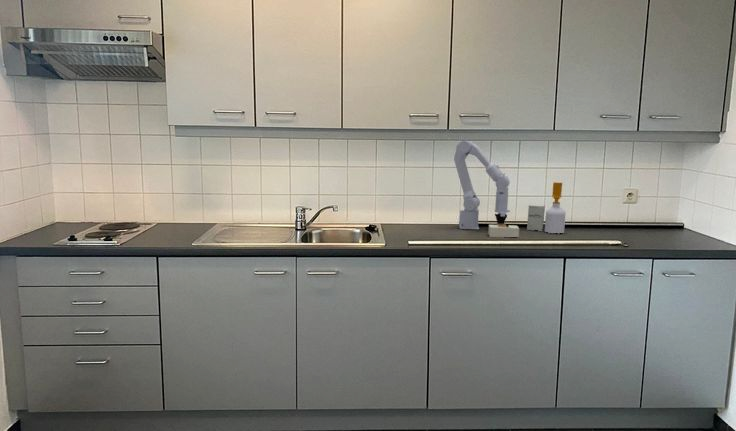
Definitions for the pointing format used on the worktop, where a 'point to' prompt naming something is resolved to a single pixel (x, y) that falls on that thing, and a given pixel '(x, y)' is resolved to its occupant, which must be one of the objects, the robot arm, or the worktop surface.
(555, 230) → the soap bottle
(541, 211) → the supplement box
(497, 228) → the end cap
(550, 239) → the worktop surface
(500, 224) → the slat
